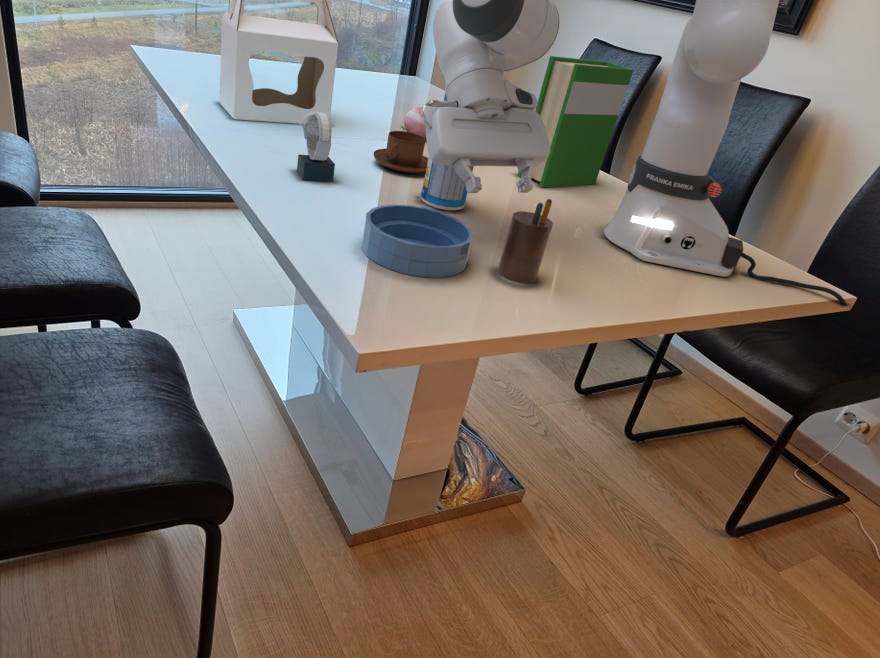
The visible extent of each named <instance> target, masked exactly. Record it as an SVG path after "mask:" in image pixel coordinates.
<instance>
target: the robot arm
mask: <svg viewBox="0 0 880 658" xmlns="http://www.w3.org/2000/svg"><path fill="white" fill-rule="evenodd" d="M779 3H780V0H695V3H694V9H693V13H692V15H691V17H690V18H689V19H688V21H687V22H686V24H685V26H684V29H683V31H682V33H681V36H680V40H679V43H678V45H677V49H676V52H675V55H674V58H673V60H672V64H671V66H670V67H671V68H670V70H669V73H668V77H667V79H666V83H665V87H664V89H663V93H662V95H661V98H660V103H659V105H658V109H657V111H656V114H655V117H654V120H653V123H652V125H651V128H650V131H649V133H648V136H647V139H646V141H645V144H644V147H643V150H642V153H641V155H639V156H637V158H636V162H635V163H634V165H633V167H632V170H631V173H630V176H629V178H628V182H627V186H626V189H627V190H626V192H625V194H624V197H623V199H622V200H621V203H620V204H619V206H618V208H617V210H616V212H615V214H614V215H613V217H612V219H611V220H610V222H609V223H608V224H607V226H606V227H605V229H604V230H603V234H604V236H605V238H606V239H608V240H609V241H610V242H612V243H613V244H614V245H616V246H618V247H619V248H621V249H624V250H625V251H627V252H629V253H631V254H632V255H633V256H635V257H636V258H637V259H639V260H641V261H643V262H648V263H653V264H658V265H663V266H667V267H672V268H678V269H682V270H687V271H692V272H697V273H702V274H708V275H713V276H717V277H721V278H722V277H723V278H726V277H729V276H731V275H732V274H733V270H734V268H736V267H737V265H738V263H739V260H740V258H743V259H745V260H746V261H748V262H749V263H750V266H749V267H748V268H747V270H746V271H747V275H748V276H749V277H750V278H752V279H756V280H759V281H768V282H774V283H779V284H785V285H790V286H795V287H798V288H803V289H808V290H814V291H818V292H819V291H820V292H824V293H827V294H829V295H831V296H833V297H834V298H836V299H837V301H838V302H839V303H840V305H841V306H844V307H848V304H847V301H846V300H845V298H844V297H843V296H842V295H841V294H840V293H838V292H837V291H836V290H834V289H831V288H828V287H825V286H820V285H814V284H809V283H803V282H799V281H795V280H792V279H785V278H780V277H775V276H770V275H769V276H768V275H758V274H756V273H754V272H753V271H754V270H755V268H756V266H757V263H756V260H755V259H754V258H753V257H752V256H750V255H749V254H747V253H745V252H744V241H743V240H741V239H737V238H734V237H731V236H730V233H729V228H728V225H727V224H726V222H725V220H724V219H723V217H722V215H720V213H719V212H718V210H717V208H716V207H715V205H714V204H713V202H712V201H711V200H710V198H717V197H718V196H720V195H721V194H722V191H723V189H722V187H721V185H720V183H719V182H716V180H715V179H714V178H713V177H712V176H711V175H710V174H709V171H710V169H711V166H712V164H713V161H714V159H715V156H716V154H717V152H718V150H719V147H720V144H721V142H722V140H723V137H724V135H725V133H726V130H727V128H728V126H729V120H730V116H731V113H732V109H733V106H734V103H735V100H736V96H737V93H738V90H739V87H740V84H741V81H742V79H743V78H745V77H746V76H748V75H749V74H751V73H752V72H753V71H754V70H755V69H757V68H758V67H759V65H760V64H761V63H762V61H763V59H764V58H765V56H766V54H767V52H768V49H769V47H770V42H771V37H772V33H773V30H774V29H773V28H774V26H775V25H774V24H775V21H776V17H777V12H778V8H779ZM559 29H560V15H559V12H558V10H557V7H556V5H555V4H554V3H553V1H551V0H442V1H441V2H440V4H439V5H438V7H437V9H436V10H435V13H434V17H433V23H432V34H433V43H434V47H435V53H436V59H437V62H438V67H439V70H440V72H441V74H442V75H443V77H444V81H445V86H444V87H445V89H444V91H446V96H447V100H448V101H444V100H438V99H431V100H428V102H426V103H425V104H424V105H423V106H422V107H423V109H422V115H423V119H424V123H425V125H426V148H427V152H428V153H427V154H428V158H430V159H431V161H432V162H433V163H434V164H435V165H448V166H454V169H455V172H456V174H457V175H458V176H459V177H460V178H461V180H462V181H463V182H465V186H466V190H467V194H478V193H479V192H481V191H482V188H483V185H482V182H481V177H480V176H475V174H474V173H473V171H471V170H470V168H469V166H474V167H508V168H509V167H516V169H517V171H518V172H517V173H519V172H522V174H521V177H520V179H519V180H518V181H517V182H515V185H516V187H517V191H518V193H520V194H527V193H529V192H532V191H533V189H534V185H533V181H532V178H531V177H532V173H533V169H534V167H536V166H538V165H539V164H541V163H542V162H544V161H545V160H546V159H547V158H548V157H549V154H550V144H549V140H548V136H547V133H546V129H545V126H544V123H543V121H542V118H541V117H540V115H539V114H538V113H537V112H536V111H535V110H536V107H537V105H538V99H537V96H536V95H535V94H534V93H531V92H529V91H528V90H526V89H523V88H522V87H519V86H517V85H515V84H514V83H512V82H511V81H510V80H507V79H505V75H504V72H510V71H512V70H516V69H519V68H522V67H524V66H526V65H529V64H531V63H533V62H536V61H538V60H539V59H541V58H543V57H544V56H545V55H546V54H547V53H548V52H549V50H550V49H551V48H552V46H553V45H554V44H555V41H556V39H557V36H558V33H559ZM744 503H745V502H744V501H743V500H739V501H738V505H739V506H743V505H744Z"/></svg>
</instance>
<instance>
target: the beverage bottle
mask: <svg viewBox="0 0 880 658" xmlns="http://www.w3.org/2000/svg"><path fill="white" fill-rule="evenodd" d="M444 91H445V90H444ZM443 101H448V100H447V96H446V91H445V92H444V97H443ZM427 158H428V164H427V169H426V171H425V175H424V179H423V184H422V188H421V192H420V200H421V201H422V202H423V203H424V204H426V205H427V206H429V207H432V208H435V209H439V210H442V211H443V210H444V211H460V210H462V209H464V208H465V207H466V203H467V199H468V193H467V190H466V186H465V182H463V181H462V180H461V178H460V177H459V176H458V175H457V174H456V172H455V169H454V166H448V165H435V164H434V163H433V162H432V161H431V159H430V158H429V157H427ZM474 167H475V166H469V168H470V170H471V171H472V172H474Z"/></svg>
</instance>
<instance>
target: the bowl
mask: <svg viewBox="0 0 880 658" xmlns="http://www.w3.org/2000/svg"><path fill="white" fill-rule="evenodd" d="M363 225H364V226H363V233H362V237H361V250H362V252H363V253H364V255H365V256H366V257H367V258H369V259H370V260H371V261H373V262H374V263H375V264H376V265H379V266H381V267H383V268H386V269H388V270H390V271H393V272H396V273H400V274H402V275H403V274H404V275H408V276H414V277H419V278H431V279H432V278H435V279H436V278H441V279H442V278H446V277H452V276H456V275H458V274H460V273H462V272H464V270H465V268H466V267H467V264H468V261H469V257H470V253H471V249H472V244H473V241H474V234H473V230H472V229H471V228H470V227H469V226H468V225H467V224H466V223H465V222H464V221H461V220H459V219H458V218H456V217H454V216H452V215H449V214H447V213H444V212H442V211H438V210H436V209H435V210H434V209H431V208H428V207H422V206H417V205H410V204H385V205H379V206H376V207H373V208H371V209H370V210H368V212H366V213H365V219H364V224H363Z"/></svg>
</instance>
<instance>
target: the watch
mask: <svg viewBox="0 0 880 658" xmlns="http://www.w3.org/2000/svg"><path fill="white" fill-rule="evenodd" d="M299 126H300V127H302V130H303V136H304V139H305V141H306V150H307V154H298V155H297V164H296V173H297V174H298V176H299V177H300V178H301V180H302V181H313V182H314V181H315V182H334V175H335V169H336V163H335V162H334V161H333V160H332V159H331V158H330V157H329V156H330V151H331V148H332V143H331V142H332V134H333V133H332V131H333V130H332V120H331V115H330V116H329V114H327V113H322V112H311V113H309V114H307V115H306V116H305V117H304V118H303V120H302V121H301V122H300V124H299Z"/></svg>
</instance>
